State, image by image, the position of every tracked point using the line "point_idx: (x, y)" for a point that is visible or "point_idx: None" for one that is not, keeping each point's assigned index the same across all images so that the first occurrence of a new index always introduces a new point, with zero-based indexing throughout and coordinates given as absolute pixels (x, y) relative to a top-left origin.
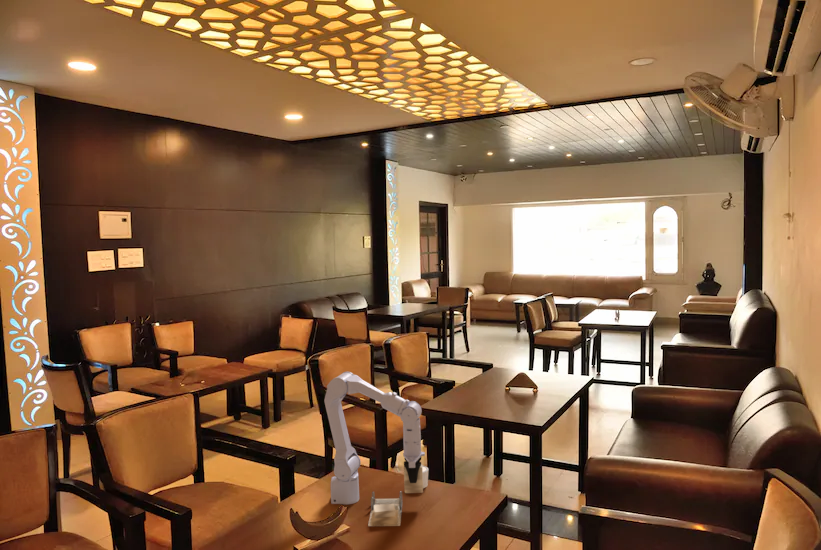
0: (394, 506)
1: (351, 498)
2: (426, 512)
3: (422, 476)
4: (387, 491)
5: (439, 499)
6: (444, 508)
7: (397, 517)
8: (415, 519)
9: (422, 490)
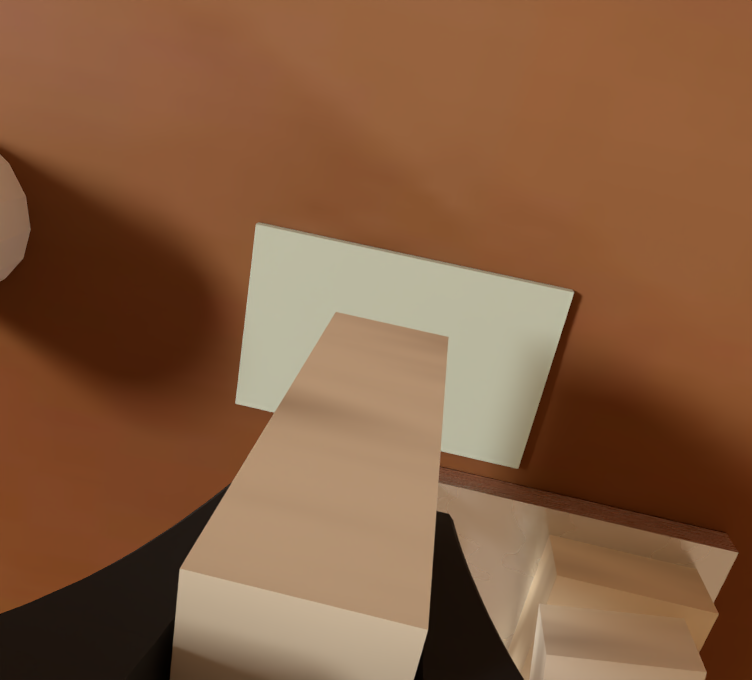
0: (616, 661)
1: None
2: (496, 245)
3: (400, 448)
4: (25, 498)
5: (230, 32)
6: (461, 16)
7: (630, 569)
8: (604, 378)
9: (445, 353)
